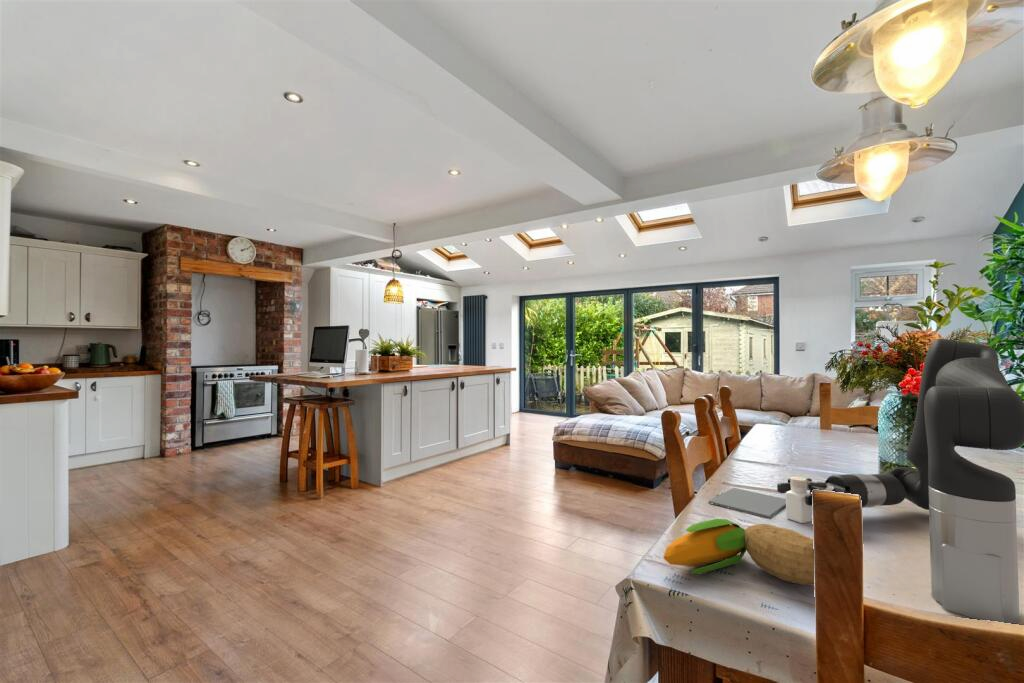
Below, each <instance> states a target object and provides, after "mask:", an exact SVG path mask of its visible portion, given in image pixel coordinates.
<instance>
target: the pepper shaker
mask: <svg viewBox="0 0 1024 683" xmlns="http://www.w3.org/2000/svg"><path fill="white" fill-rule="evenodd" d="M789 479H790V486H791V490H790V491H787V492H786V493H785V499H786V506H785V516H786V518H787V519H789V520H790V521H794V522H796V523H799V524H807V523H810V522H812V521H813V519H812V515H813V506H809V505H807V504H806V503H805V496H806V495H810V494H809V493H810V492H808V490H807V480H806V479H807V478H804V477H802V476H790V477H789Z"/></svg>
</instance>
